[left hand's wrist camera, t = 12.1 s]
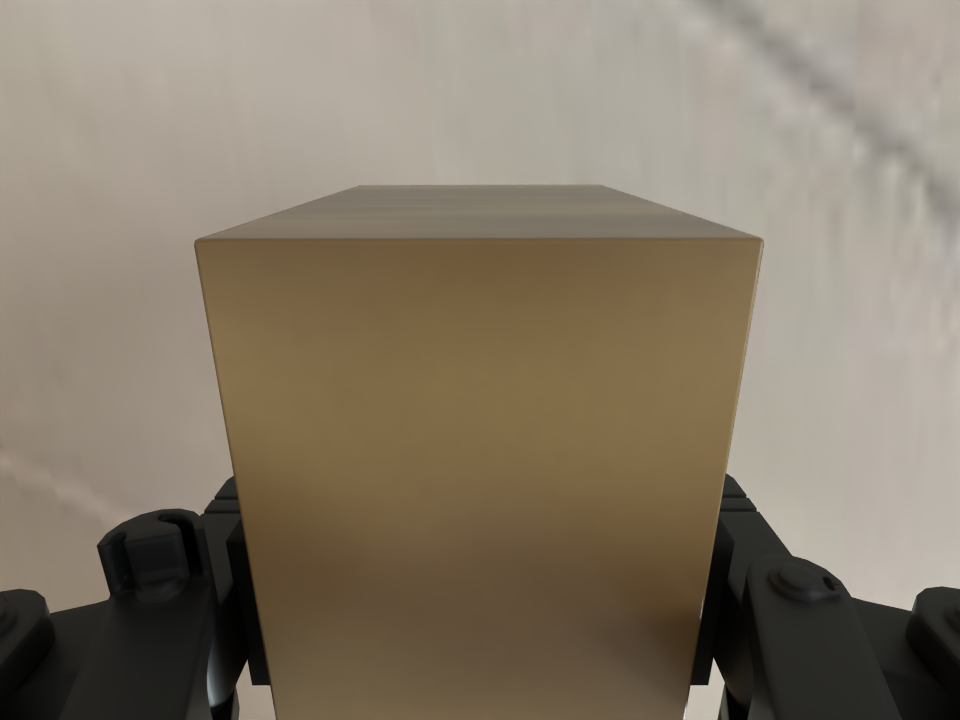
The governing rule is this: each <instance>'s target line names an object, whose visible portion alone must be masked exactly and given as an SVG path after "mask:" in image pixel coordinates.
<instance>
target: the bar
mask: <svg viewBox="0 0 960 720" xmlns="http://www.w3.org/2000/svg"><path fill="white" fill-rule="evenodd" d="M194 247H195V252H196V258H197V264H198V270H199V275H200V281H201V287H202V293H203V299H204V304H205V310H206V316H207V322H208V328H209V333H210V339H211V345H212V351H213V357H214V362H215V368H216V374H217V380H218V386H219V391H220V397H221V403H222V409H223V414H224V420H225V426H226V432H227V438H228V443H229V449H230V455H231V461H232V467H233V472H234V478H235V484H236V490H237V496H238V501H239V507H240V513H241V519H242V524H243V530H244V536H245V542H246V548H247V553H248V559H249V565H250V571H251V577H252V582H253V588H254V594H255V600H256V606H257V611H258V617H259V623H260V629H261V635H262V640H263V646H264V652H265V658H266V663H267V669H268V675H269V681H270V687H271V692H272V698H273V704H274V710H275V716H276V720H685V714H686V708H687V702H688V696H689V690H690V684H691V678H692V672H693V666H694V660H695V654H696V648H697V642H698V636H699V630H700V624H701V618H702V612H703V606H704V600H705V594H706V588H707V582H708V576H709V570H710V564H711V558H712V552H713V546H714V540H715V534H716V528H717V522H718V516H719V510H720V504H721V498H722V492H723V486H724V480H725V474H726V468H727V462H728V456H729V450H730V444H731V438H732V433H733V427H734V421H735V415H736V409H737V403H738V397H739V391H740V385H741V379H742V373H743V367H744V361H745V355H746V349H747V343H748V337H749V331H750V325H751V319H752V313H753V307H754V301H755V295H756V289H757V283H758V277H759V271H760V265H761V259H762V253H763V247H764V241H763V239H762V238H759V237H757V236H754V235H751V234H748V233H744V232H741V231H738V230H735V229H732V228H729V227H726V226H723V225H720V224H717V223H714V222H711V221H708V220H705V219H702V218H699V217H696V216H693V215H690V214H687V213H684V212H681V211H678V210H675V209H672V208H669V207H666V206H663V205H660V204H657V203H654V202H651V201H648V200H645V199H642V198H639V197H636V196H633V195H630V194H627V193H624V192H621V191H618V190H615V189H612V188H609V187H606V186H603V185H359V186H356V187H353V188H350V189H347V190H344V191H341V192H338V193H335V194H332V195H329V196H326V197H323V198H320V199H317V200H314V201H311V202H308V203H305V204H302V205H299V206H296V207H293V208H290V209H287V210H284V211H281V212H278V213H275V214H272V215H269V216H266V217H263V218H260V219H257V220H254V221H251V222H248V223H245V224H242V225H238V226H235V227H232V228H229V229H226V230H223V231H220V232H217V233H214V234H211V235H208V236H205V237H202V238H199V239H197V240H195V243H194Z"/></svg>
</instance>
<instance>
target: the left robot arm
mask: <svg viewBox="0 0 960 720" xmlns="http://www.w3.org/2000/svg"><path fill="white" fill-rule="evenodd" d="M204 511H205V512H204V514H201V516H199V515H197V514H196V513H195V512H193V511H188V510H184V509H162V510H158V511H153V512H149V513H145V514H141V515H139V516H137V517H134V518H132V519H130V520H128V521H125V522H123V523H121V524H120V525H118V526H117V527H115V528H114V529H113V530H111V531H110V532H108V533H107V534H106V535H105V536H104V537H103V539H102V540H101V541H100V542H99V544H98V545H97V548H98V552H99V556H100V559H101V563H102V566H103V570H104V573H105V577H106V580H107V584H108V588H109V591H110V597H109V599H108V600H106V601H102V602H99V603H95V604H91V605H86V606H82V607H77V608H73V609H68V610H64V611H59V612H55V613H49V610H48V607H47V604H46V601H45V598H44V597H43V596H42V595H40V594H39V593H38V592H36V591H33V590H24V589H15V590H9V591H2V592H0V720H238V718H239V701H238V695H237V690H236V683H237V681H238V679H239V676H240V674H241V672H242V670H243V668H244V665H245V663H246V661H247V659H248V665H249V670H250V675H251V681H252V685H270V681H269V675H268V669H267V663H266V658H265V652H264V646H263V640H262V635H261V629H260V623H259V617H258V611H257V606H256V600H255V594H254V588H253V582H252V577H251V571H250V565H249V559H248V553H247V548H246V542H245V536H244V530H243V524H242V519H241V513H240V507H239V501H238V496H237V490H236V484H235V478H234V476H233V477H231V478H230V479H228V480H227V481H226V482H225V484H224V485H223V486H222V488H221V489H220V490H219V492H218V493H217V494H216V496H215V499H214V500H212V501H211V502H210V504H209V505H208V506H207V508H206V509H205V510H204ZM713 657H714V659H715V661H716V664H717V666H718V668H719V670H720V673H721V675H722V677H723V679H724V681H725V685H724V690H723V695H722V700H721V705H720V710H719V715H718V720H960V589H955V588H949V587H934V588H926V589H924V590H923V591H922V592H921V593H919V594H918V595H917V596H916V599H915V602H914V605H913V608H912V611H908V610H903V609H899V608H894V607H890V606H885V605H881V604H876V603H872V602H867V601H863V600H860V599H856V598H853V597H851V596H850V594H849V592H848V591H847V589H846V588H845V587H844V585H843V584H842V582H841V581H840V580H839V579H838V578H836V577H835V576H834V575H832V574H831V573H830V572H829V571H827V570H826V569H824V568H822V567H820V566H818V565H816V564H814V563H812V562H810V561H808V560H805V559H802V558H798V557H794V556H792V555H791V553H790V552H789V551H788V549H787V548H786V547H785V546H784V544H783V543H782V542H781V540H780V539H779V538H778V536H777V535H776V534H775V532H774V531H773V530H772V528H771V527H770V526H769V524H768V523H767V522H766V520H765V519H764V518H763V516H762V515H761V514H760V512H757V511H756V507H755V506H754V504H753V503H752V502H751V501H750V499H749V498H746V494H745V493H744V491H743V490H742V489H741V487H740V486H739V485H738V483H737V482H736V481H735V479H734V478H732V477H731V476H729V475H728V474H725V480H724V486H723V492H722V498H721V504H720V510H719V516H718V522H717V528H716V534H715V540H714V546H713V552H712V558H711V564H710V570H709V576H708V582H707V588H706V594H705V600H704V606H703V612H702V618H701V624H700V630H699V636H698V642H697V648H696V654H695V660H694V666H693V672H692V678H691V684H690V685H708V683H709V678H710V672H711V667H712V662H713Z"/></svg>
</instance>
